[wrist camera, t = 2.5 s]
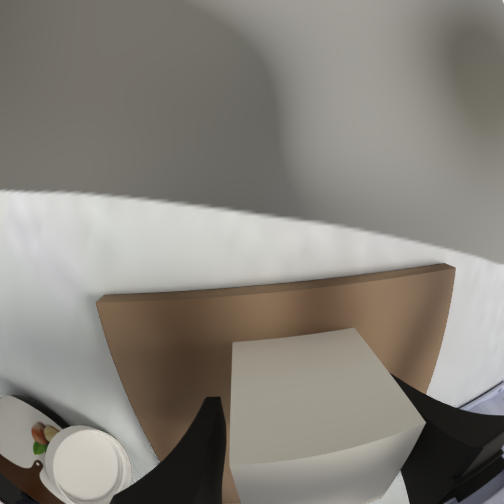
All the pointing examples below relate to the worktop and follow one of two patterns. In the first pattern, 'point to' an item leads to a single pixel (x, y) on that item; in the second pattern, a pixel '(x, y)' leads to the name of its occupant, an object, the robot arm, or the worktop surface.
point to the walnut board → (263, 338)
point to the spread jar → (56, 458)
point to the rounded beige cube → (316, 421)
